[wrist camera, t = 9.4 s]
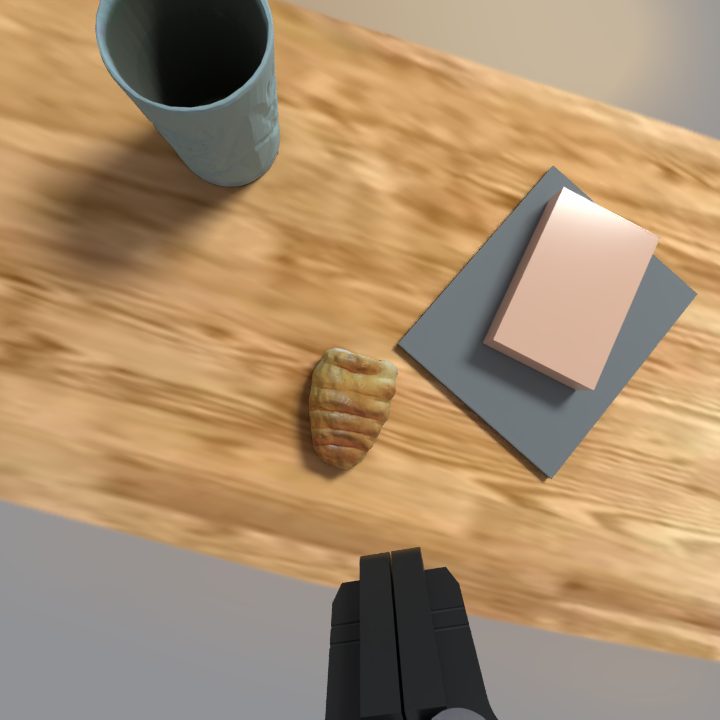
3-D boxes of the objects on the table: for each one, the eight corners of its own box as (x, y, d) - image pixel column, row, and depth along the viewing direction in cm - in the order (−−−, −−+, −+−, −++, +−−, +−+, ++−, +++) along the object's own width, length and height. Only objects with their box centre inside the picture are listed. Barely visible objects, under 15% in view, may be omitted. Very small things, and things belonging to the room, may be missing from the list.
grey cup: (290, 88, 39) (275, -47, 27) (287, 202, 38) (270, 115, 26) (169, 80, 38) (98, -63, 26) (164, 196, 37) (88, 104, 25)
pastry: (374, 473, 37) (380, 482, 33) (294, 456, 37) (290, 463, 33) (398, 362, 38) (405, 359, 34) (319, 345, 38) (318, 339, 34)
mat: (397, 344, 38) (398, 343, 37) (549, 168, 40) (553, 165, 39) (547, 477, 38) (551, 478, 37) (691, 295, 40) (697, 294, 40)
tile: (593, 390, 36) (659, 237, 37) (493, 339, 35) (563, 187, 37) (576, 390, 38) (638, 247, 40) (481, 343, 38) (548, 200, 39)
